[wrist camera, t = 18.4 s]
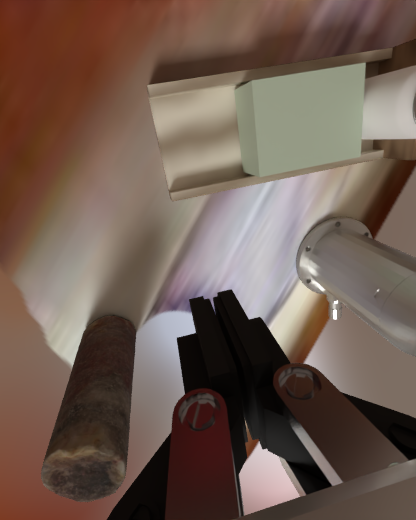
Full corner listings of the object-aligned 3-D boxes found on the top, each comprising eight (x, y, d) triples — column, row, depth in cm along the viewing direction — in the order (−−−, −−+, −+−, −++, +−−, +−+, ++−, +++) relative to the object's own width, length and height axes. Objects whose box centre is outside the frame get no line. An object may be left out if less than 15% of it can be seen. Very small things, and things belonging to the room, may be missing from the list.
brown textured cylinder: (107, 363, 44) (82, 516, 26) (71, 334, 41) (14, 486, 23) (146, 334, 44) (148, 470, 26) (112, 303, 41) (86, 433, 23)
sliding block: (330, 154, 38) (360, 156, 32) (242, 171, 36) (259, 177, 31) (331, 74, 34) (365, 62, 29) (234, 90, 32) (251, 80, 27)
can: (369, 71, 35) (470, 40, 24) (380, 123, 38) (476, 116, 27) (322, 99, 35) (403, 81, 24) (337, 148, 38) (415, 152, 27)
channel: (379, 154, 40) (427, 157, 34) (170, 196, 37) (176, 209, 30) (388, 52, 35) (445, 31, 29) (147, 89, 32) (147, 76, 25)
